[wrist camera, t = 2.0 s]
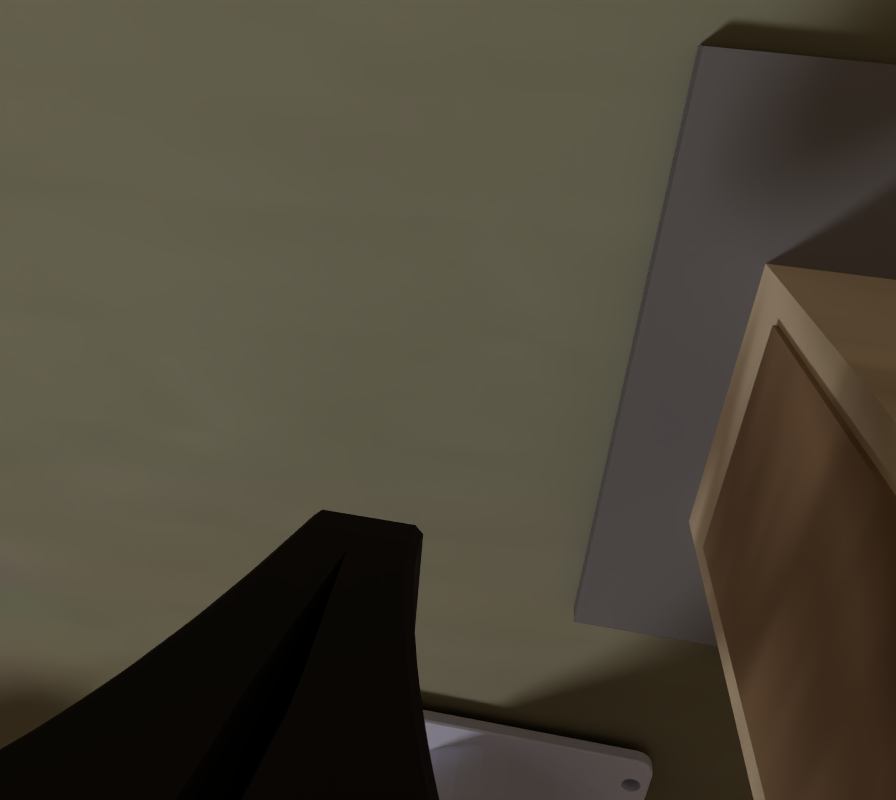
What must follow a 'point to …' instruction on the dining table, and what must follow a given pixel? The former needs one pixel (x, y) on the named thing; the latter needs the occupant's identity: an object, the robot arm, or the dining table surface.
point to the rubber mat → (729, 298)
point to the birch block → (808, 537)
